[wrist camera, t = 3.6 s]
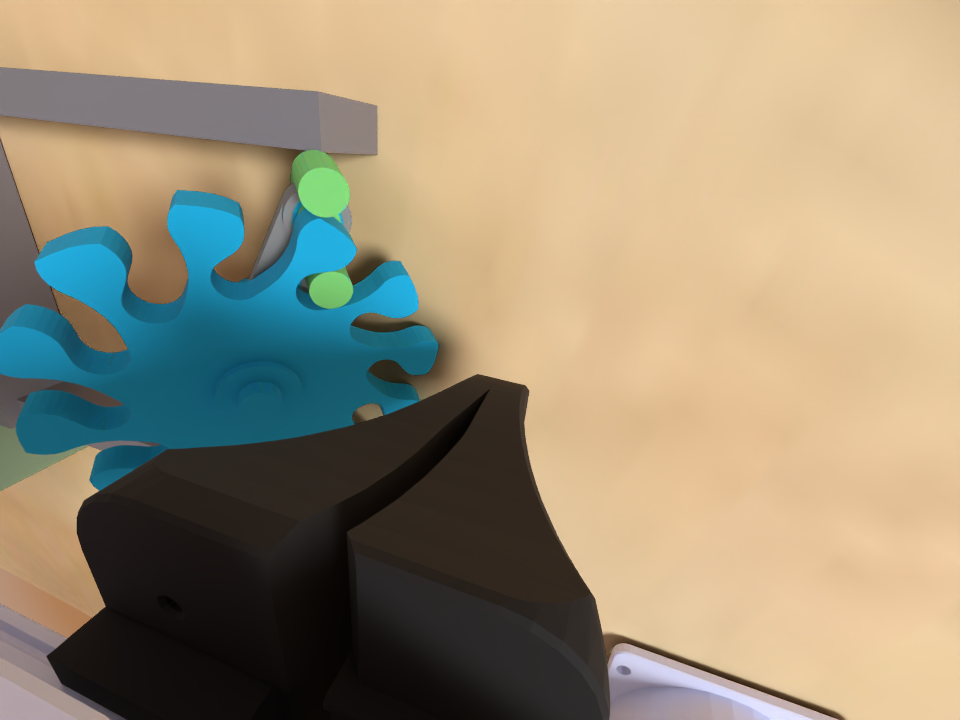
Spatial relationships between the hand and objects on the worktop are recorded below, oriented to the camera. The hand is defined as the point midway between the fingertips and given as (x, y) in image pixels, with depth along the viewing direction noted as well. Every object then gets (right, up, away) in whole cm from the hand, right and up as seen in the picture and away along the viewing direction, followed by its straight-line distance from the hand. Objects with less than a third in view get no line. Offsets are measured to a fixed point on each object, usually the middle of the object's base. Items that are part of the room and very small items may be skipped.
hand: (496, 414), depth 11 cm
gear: (-5, +3, +4) cm, 7 cm away
